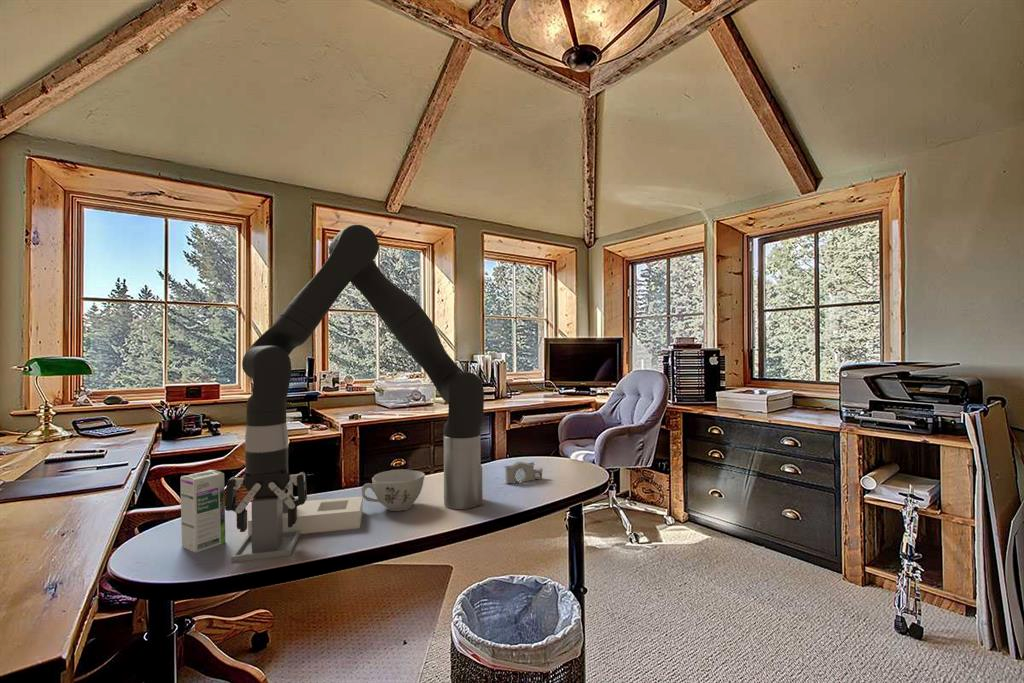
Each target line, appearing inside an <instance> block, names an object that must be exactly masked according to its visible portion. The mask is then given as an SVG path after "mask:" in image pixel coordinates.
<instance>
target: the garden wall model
mask: <svg viewBox="0 0 1024 683" xmlns="http://www.w3.org/2000/svg"><path fill="white" fill-rule="evenodd" d="M534 466H535V462H534V461H532V462H527V463H526V462H524V461H516V462H515V463H513V464H512V465H504V469H505V484H506V483H507V485H509V484H508V483H513V484H515V483H514V482H520V481H521V482H523V483H524V481H525V482H530V481H529V480H532V481H536V480H535V479H538V480H542V479H543V470H544V469H543V468H542V467H541V468H538V469H537V468H536V469H534V468H535V467H534ZM518 480H519V481H518Z"/></svg>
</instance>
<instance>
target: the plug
mask: <svg viewBox="0 0 1024 683" xmlns="http://www.w3.org/2000/svg"><path fill="white" fill-rule="evenodd" d="M251 516H252V553H262V552H271V551H278V549H279V547H280V545H281V544H282V542H283V513H282V501H281V499H280V498H279V497H278V496H277V497H275V498H264V499H256V498H254V497H253V499H252V500H251Z"/></svg>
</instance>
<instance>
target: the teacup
mask: <svg viewBox="0 0 1024 683" xmlns="http://www.w3.org/2000/svg"><path fill="white" fill-rule="evenodd" d="M425 476H426V474H425V473H424V472H422V471H419V470H413V469H403V468H401V469H391V470H388V471H387V470H386V471H382V472H381V471H380V472H378V473H377V474H374V476H373V477H371V481H372V482H371V483H370V482H367V483H364V484H363V485H362V487H361V496H363V499H365V501H367V502H373V503H374V502H375V503H378V504H381V505H382V506H383V507H385V508H386V510H388V511H390V512H402V510H403V511H407V510H409V509H410V508H411V507H412V506H413V504H414V503H415V502H416V501H417V499H418V498H419V496H420V494H421V492H422V489H423V486H424V480H425ZM368 488H370V489H371V491H372V492H373V493H374V494H375V496H376V498H373V497H369V496H367V495H366V494H365V492H366V490H367V489H368ZM408 508H409V509H408Z"/></svg>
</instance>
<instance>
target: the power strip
mask: <svg viewBox="0 0 1024 683" xmlns="http://www.w3.org/2000/svg"><path fill="white" fill-rule="evenodd" d="M286 487H287V488H288V489H289V490H290V491H291V493H292V495H293V496H294V492H293V491H294V483H293V481H289V483H288V484H287V485H286ZM363 499H364V498H363V496H362V495H361V496H350V497H349V496H348V497H337V498H327V499H324V498H323V499H315V500H314V499H313V500H306V501H305V503H304V504H303V505H299V506H297V521H296V523H295V524H293V526H292V527H288V508H289V507H288V506H287V505H286V504H285V502H283V501H282V513H283V532H288V531H298V530H300V535H302V534H311V533H312V534H314V533H323V532H334V531H342V530H343V531H344V530H345V531H346V530H354V529H356V530H357V529H360V528H361V522H362V517H363V512H364V511H363V508H364V507H363ZM247 535H252V515H251V516H250V517H249V519H247Z"/></svg>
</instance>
